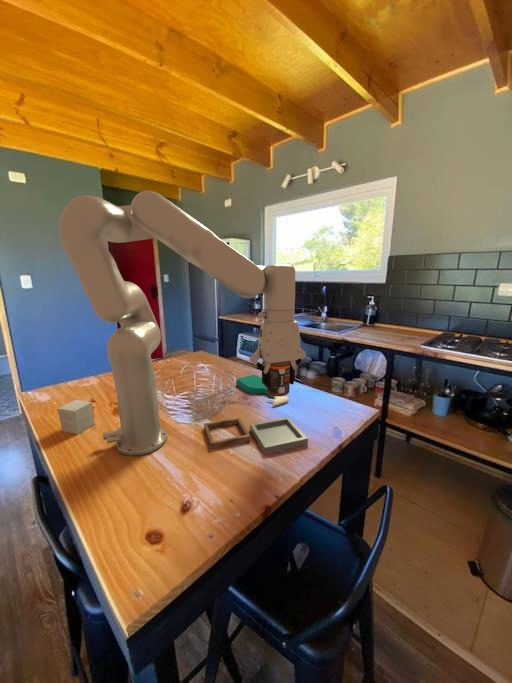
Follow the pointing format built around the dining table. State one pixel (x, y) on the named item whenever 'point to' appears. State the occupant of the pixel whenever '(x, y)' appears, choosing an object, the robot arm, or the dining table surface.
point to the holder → (230, 440)
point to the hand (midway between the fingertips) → (278, 383)
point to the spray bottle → (258, 388)
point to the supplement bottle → (279, 379)
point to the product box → (76, 416)
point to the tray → (278, 435)
